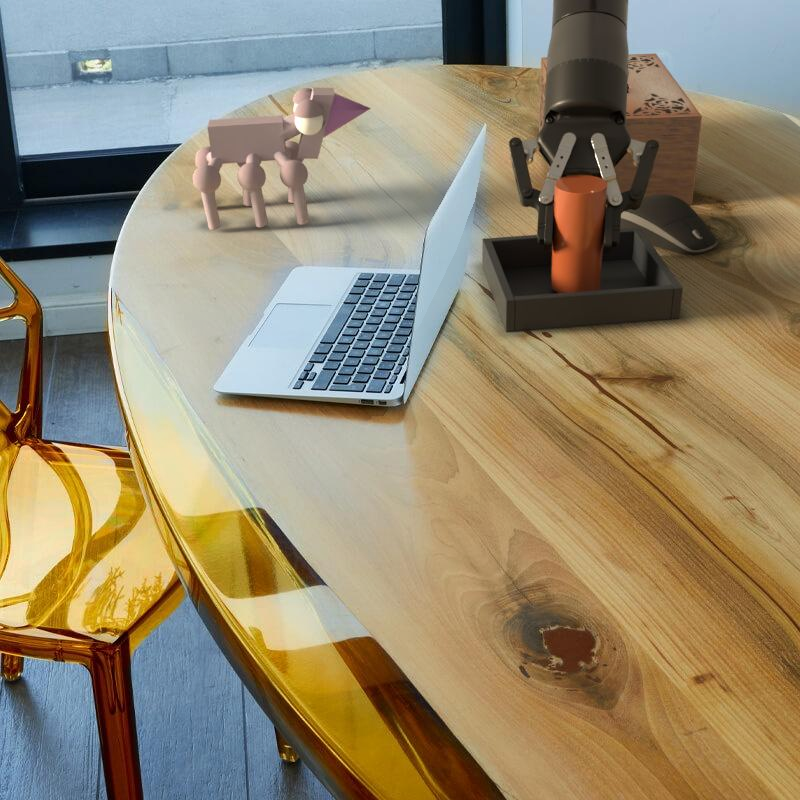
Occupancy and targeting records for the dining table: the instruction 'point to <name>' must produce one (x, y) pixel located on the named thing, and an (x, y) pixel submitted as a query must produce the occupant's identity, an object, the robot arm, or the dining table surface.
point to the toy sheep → (271, 150)
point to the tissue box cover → (655, 127)
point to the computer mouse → (670, 225)
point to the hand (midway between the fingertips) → (577, 248)
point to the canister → (578, 233)
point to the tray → (612, 304)
